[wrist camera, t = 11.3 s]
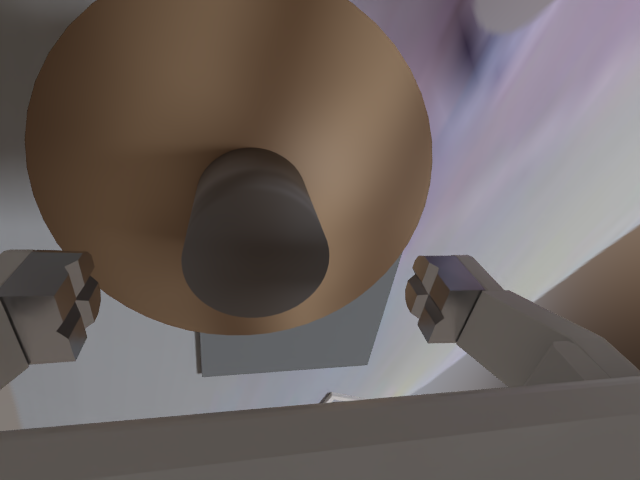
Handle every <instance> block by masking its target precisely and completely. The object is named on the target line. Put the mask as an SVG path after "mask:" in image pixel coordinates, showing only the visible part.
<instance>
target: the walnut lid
mask: <svg viewBox="0 0 640 480" xmlns="http://www.w3.org/2000/svg"><path fill="white" fill-rule="evenodd" d="M25 149H26V162H27V170H28V175H29V179H30V183H31V187H32V191H33V195H34V198H35V200H36V203H37V205H38V207H39V210H40V212H41V215H42V217H43V220H44V221H45V223H46V225H47V227H48V228H49V230H50V232H51V234H52V235H53V237H54V239H55V241H56V242H57V243H58V245H59V246H60V247H61V249H62V250H63V251H87V252H88V253H90V254H91V255H92V259H93V262H94V266H95V267H94V269H93V271H92V273H91V275H90V276H91V277H93V278H94V279H95V280H96V281H97V282H98V283H99V287H100V289H101V290H103V291H104V292H105V293H106V294H108V295H109V296H111V297H112V298H114V299H115V300H117V301H119V302H120V303H122V304H123V305H125V306H126V307H128V308H130V309H132V310H134V311H136V312H138V313H140V314H142V315H144V316H146V317H149V318H151V319H154V320H157V321H159V322H162V323H165V324H167V325H171V326H174V327H178V328H182V329H185V330H189V331H195V332H201V333H207V334H217V335H256V334H266V333H272V332H277V331H283V330H288V329H291V328H295V327H298V326H301V325H305V324H308V323H310V322H313V321H315V320H318V319H320V318H323V317H325V316H327V315H329V314H331V313H333V312H335V311H337V310H339V309H341V308H342V307H344V306H345V305H347V304H349V303H350V302H352V301H353V300H355V299H356V298H358V297H359V296H360V295H362V294H363V293H364V292H365V291H367V290H368V289H369V288H371V287H372V286H373V285H374V284H375V283H376V282H377V281H378V280H379V279H380V278H381V277H382V276H383V275H384V274H385V273H386V272H387V271H388V270H389V268H390V267H391V266H392V265H393V264H394V262H395V261H396V260H397V259H398V257H399V256H400V254H401V253H402V251H403V250H404V248H405V247H406V245H407V244H408V242H409V241H410V239H411V237H412V235H413V233H414V231H415V229H416V227H417V225H418V222H419V220H420V217H421V215H422V212H423V209H424V207H425V203H426V199H427V195H428V191H429V186H430V179H431V170H432V138H431V132H430V125H429V119H428V115H427V111H426V108H425V104H424V101H423V98H422V94H421V92H420V89H419V87H418V85H417V83H416V81H415V79H414V76H413V74H412V72H411V70H410V68H409V66H408V65H407V63H406V62H405V60H404V59H403V57H402V56H401V54H400V52H399V51H398V49H397V48H396V46H395V45H394V44H393V43H392V41H391V40H390V39H389V38H388V37H387V36H386V34H385V33H384V32H383V31H382V30H381V29H380V28H379V26H378V25H377V24H376V23H375V22H374V21H373V20H371V19H370V18H369V17H368V16H367V15H366V14H364V13H363V12H362V11H361V10H360V9H359V8H357V7H356V6H355V5H354V4H353V3H351V2H350V1H348V0H97V1H95V2H94V3H92V4H91V5H90V6H89V7H88V8H87V9H86V10H85V11H84V12H83V13H82V14H81V15H80V16H79V17H77V18H76V19H75V20H74V21H73V22H72V23H71V24H70V25H69V26H68V27H67V29H66V30H65V31H64V33H63V34H62V35H61V37H60V38H59V40H58V41H57V42H56V44H55V45H54V46H53V48H52V49H51V51H50V52H49V54H48V56H47V58H46V60H45V62H44V64H43V66H42V68H41V70H40V72H39V75H38V77H37V79H36V81H35V84H34V88H33V92H32V95H31V99H30V103H29V106H28V110H27V120H26V131H25Z"/></svg>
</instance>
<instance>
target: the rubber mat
mask: <svg viewBox="0 0 640 480" xmlns="http://www.w3.org/2000/svg"><path fill="white" fill-rule="evenodd" d="M402 252H403V251H402ZM401 255H402V253H401V254H400V256H399V257H398V259H397V260H396V261H395V262H394V264H393V265H392V266H391V267H390V268H389V270H388V271H387V272H386V273H385V274H384V275H383V276H382V277H381V278H380V279H379V280H378V281H377V282H376V283H375V284H374V285H373V286H372V287H371V288H369V289H368V290H367V291H365V292H364V293H363V294H362V295H360V296H359V297H358V298H356V299H355V300H353V301H352V302H350V303H349V304H347V305H345V306H344V307H342V308H341V309H339V310H337V311H335V312H333V313H331V314H329V315H327V316H325V317H323V318H320V319H318V320H315V321H313V322H310V323H308V324H305V325H301V326H298V327H295V328H291V329H288V330H283V331H277V332H272V333H266V334H256V335H217V334H207V333H201V332H200V345H201V365H202V377H210V376H224V375H237V374H251V373H265V372H278V371H292V370H306V369H320V368H333V367H347V366H361V365H367V364H368V361H369V358H370V354H371V351H372V348H373V345H374V341H375V338H376V335H377V332H378V329H379V325H380V322H381V319H382V316H383V313H384V309H385V306H386V303H387V300H388V297H389V293H390V290H391V287H392V284H393V280H394V277H395V274H396V271H397V268H398V264H399V261H400V258H401Z"/></svg>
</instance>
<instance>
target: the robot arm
mask: <svg viewBox="0 0 640 480" xmlns="http://www.w3.org/2000/svg"><path fill="white" fill-rule="evenodd" d="M94 267H95V266H94V262H93V259H92V255H91V254H90V253H88V252H87V251H57V250H7V251H4V252H2V253H1V254H0V389H2V388H3V387H4V386H6V385H7V384H8V383H9V382H11V381H12V380H13V379H14V378H16V377H17V376H18V375H19V374H21V373H22V372H23V371H24V370H26V369H27V368H28V367H29V365H30V364H43V363H57V362H70V361H76V359H77V357H78V355H79V353H80V351H81V349H82V347H83V344H84V342H85V340H86V338H87V335H86V331H85V328H86V327H88V326H89V325H91V324H92V323H94V321H95V319H96V317H97V315H98V312H99V307H100V302H101V296H100V287H99V283H98V282H97V281H96V280H95V279H94V278H93V277H91V276H90V275H91V273H92V271H93V269H94ZM413 270H414V272H415V275H414V276H413V277H412V278H410V279H409V280H408V283H407V286H406V289H405V300H406V303H407V307H408V309H409V310H410V312H411V313H412V314H413V315H415V316H416V317H417V318H419V321H418V327H419V328H420V330H421V332H422V334H423V335H424V337H425V339H426V341H427V343H457V345H458V346H459V347H460V348H462V349H463V350H464V351H465V352H467V353H468V354H469V355H470V356H471V357H473V358H474V359H475V360H476V361H477V362H479V363H480V364H481V365H483V366H484V367H485V368H486V369H487V370H489V371H490V372H491V373H492V374H493V375H495V376H496V377H497V378H498V379H500V380H501V381H502V382H503V383H505V384H506V385H507V386H508V387H504V388H492V389H481V390H469V391H459V392H446V393H436V394H423V395H411V396H400V397H388V398H377V399H365V400H354V401H342V402H331V403H319V404H308V405H296V406H285V407H273V408H262V409H250V410H239V411H227V412H216V413H204V414H193V415H181V416H170V417H158V418H147V419H135V420H124V421H112V422H101V423H89V424H78V425H66V426H55V427H43V428H32V429H20V430H9V431H0V480H640V371H639V370H638V369H637V368H636V367H635V366H634V365H633V364H632V363H631V362H629V361H628V360H627V359H626V358H625V357H624V356H623V355H622V354H620V352H618V351H617V350H616V349H615V348H614V347H613V346H612V345H611V344H610V343H608V342H607V341H606V340H605V339H604V338H603V337H601V336H599V335H597V334H595V333H593V332H591V331H589V330H587V329H585V328H583V327H581V326H579V325H577V324H575V323H573V322H571V321H569V320H567V319H565V318H563V317H561V316H559V315H557V314H555V313H553V312H551V311H549V310H547V309H545V308H543V307H541V306H539V305H537V304H535V303H533V302H531V301H529V300H527V299H525V298H523V297H521V296H519V295H517V294H515V293H513V292H511V291H509V290H503V288H502V287H501V286H500V285H499V284H498V283H497V282H496V281H495V280H494V279H493V278H492V277H491V276H490V275H489V274H488V273H487V272H486V271H485V269H484V268H483V267H482V266H481V265H480V264H479V263H478V262H477V261H476V260H475V259H474V258H473V257H471V256H469V255H451V256H418V257H417V259H416V260H415V262H414V265H413Z"/></svg>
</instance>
